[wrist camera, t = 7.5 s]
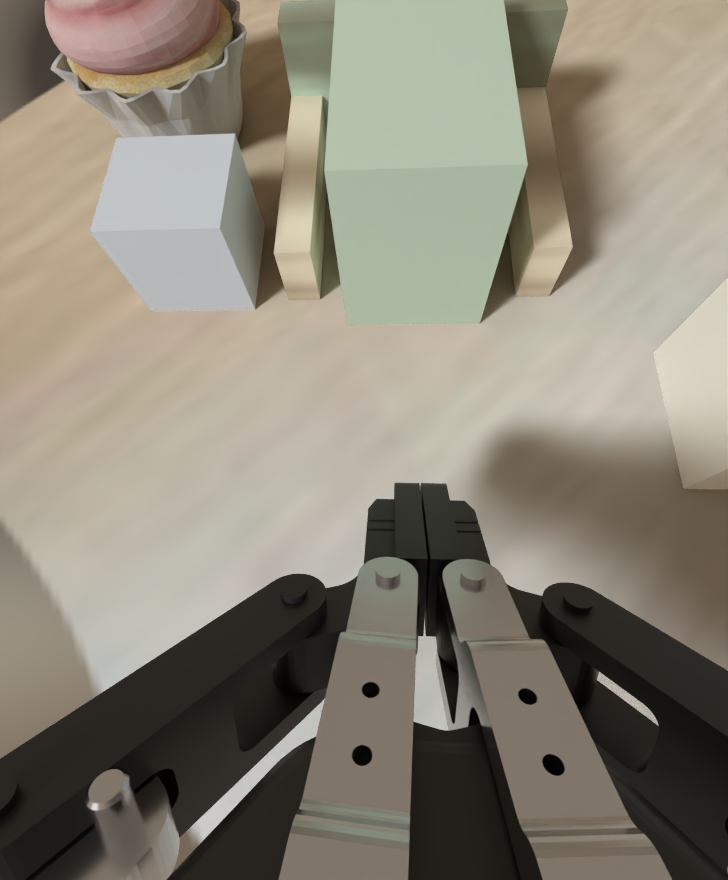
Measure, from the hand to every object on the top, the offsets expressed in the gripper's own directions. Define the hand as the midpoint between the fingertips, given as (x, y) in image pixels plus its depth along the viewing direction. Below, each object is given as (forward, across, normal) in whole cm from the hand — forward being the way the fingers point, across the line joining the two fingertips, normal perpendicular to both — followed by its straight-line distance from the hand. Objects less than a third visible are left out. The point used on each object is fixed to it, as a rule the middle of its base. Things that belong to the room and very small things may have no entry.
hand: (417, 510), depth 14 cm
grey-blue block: (+12, +10, -6) cm, 17 cm away
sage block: (+13, 0, -7) cm, 15 cm away
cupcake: (+19, +12, -13) cm, 26 cm away
